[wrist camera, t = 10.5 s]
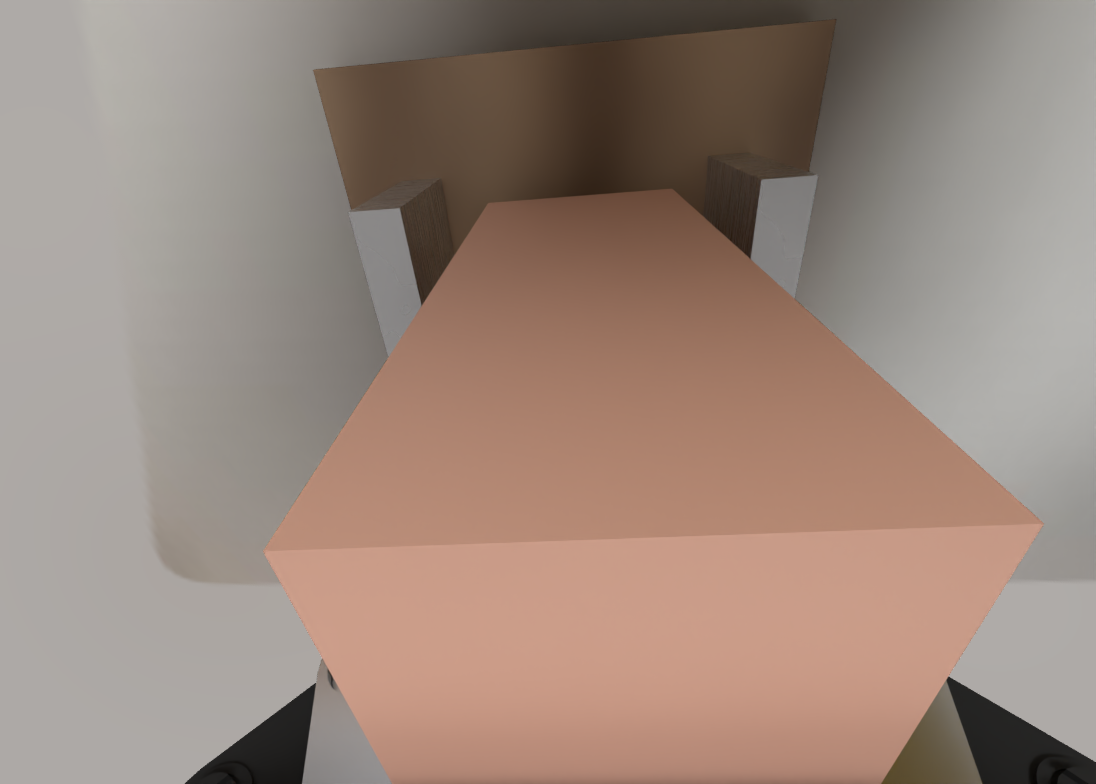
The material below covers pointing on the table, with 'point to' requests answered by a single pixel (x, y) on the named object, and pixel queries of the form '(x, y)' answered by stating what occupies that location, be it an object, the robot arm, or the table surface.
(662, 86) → the shelf board
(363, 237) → the bookends
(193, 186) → the table surface
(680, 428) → the small book
